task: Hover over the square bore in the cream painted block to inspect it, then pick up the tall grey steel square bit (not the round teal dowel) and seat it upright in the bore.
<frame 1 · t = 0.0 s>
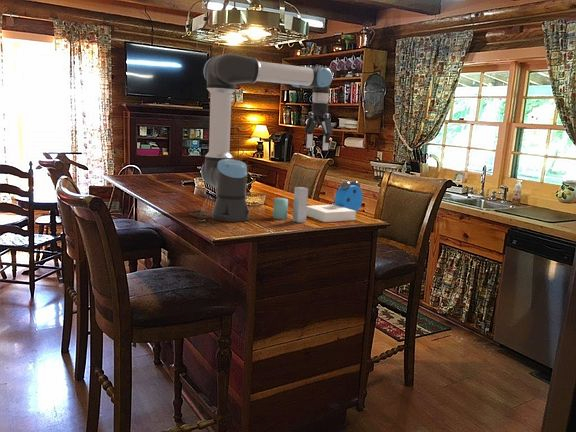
hand: (317, 149, 233), 28 cm above the countertop, fingers open, 13 cm apart
bore block: (329, 217, 216), on the countertop
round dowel: (280, 217, 209), on the countertop
square bit: (299, 221, 204), on the countertop
alarm clock: (347, 213, 228), on the countertop
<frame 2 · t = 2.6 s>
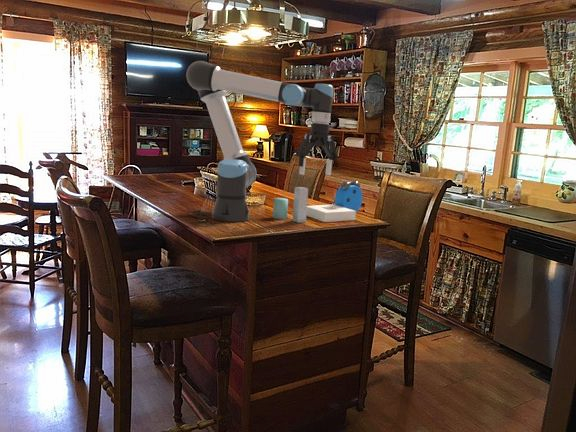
hand: (315, 174, 206), 19 cm above the countertop, fingers open, 13 cm apart
nothing on the countertop moved.
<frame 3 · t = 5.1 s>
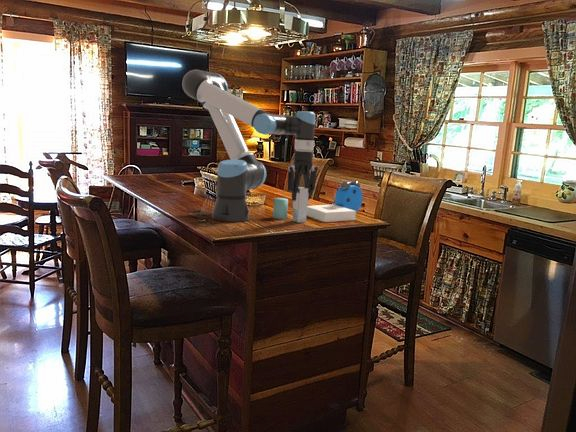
hand: (300, 208, 202), 6 cm above the countertop, fingers closed on square bit, 4 cm apart
square bit: (299, 221, 204), on the countertop, touching gripper
everything else where it was.
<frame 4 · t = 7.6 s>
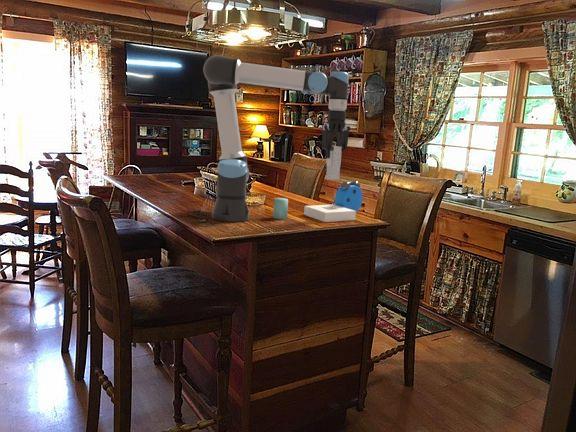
hand: (333, 165, 212), 23 cm above the countertop, fingers closed on square bit, 4 cm apart
square bit: (332, 178, 213), point 17 cm above the countertop, touching gripper
everything else where it was.
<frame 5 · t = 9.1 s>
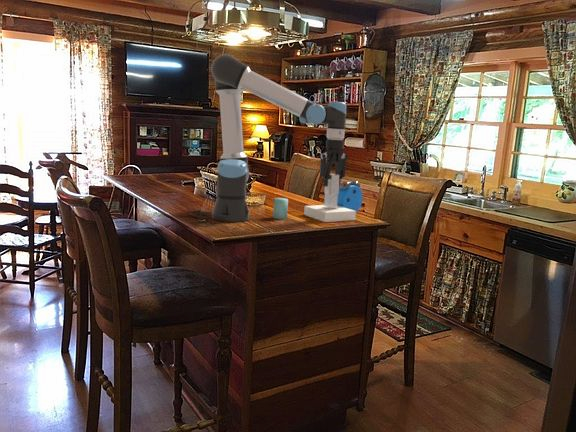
hand: (331, 193, 214), 10 cm above the countertop, fingers closed on square bit, 4 cm apart
square bit: (330, 206, 215), point 5 cm above the countertop, touching gripper
everything else where it was.
when the fingers open (7 cm above the countertop, at t = 10.1 s): square bit stays where it is, resting in bore block.
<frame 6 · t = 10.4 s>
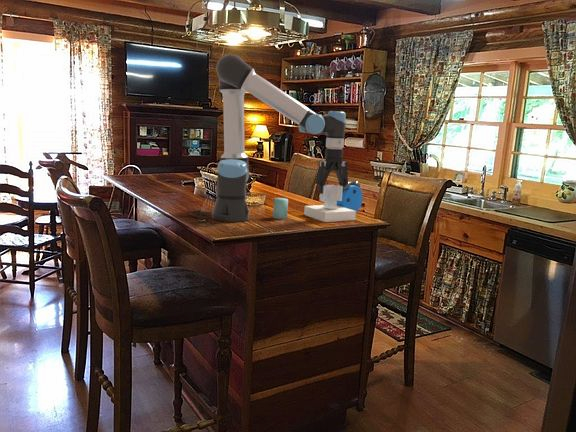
hand: (330, 200, 215), 7 cm above the countertop, fingers open, 8 cm apart
square bit: (329, 217, 216), resting in bore block
everything else where it was.
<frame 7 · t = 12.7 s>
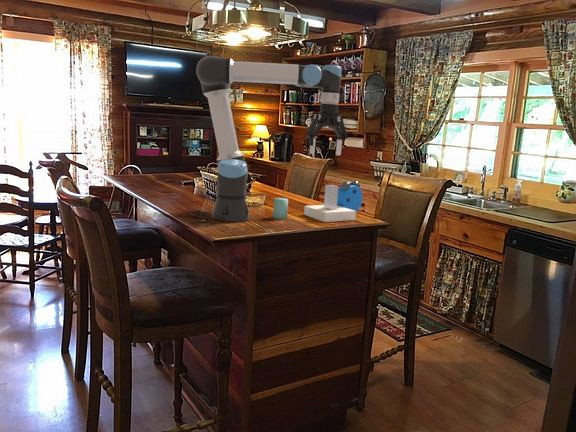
hand: (325, 154, 212), 27 cm above the countertop, fingers open, 13 cm apart
nothing on the countertop moved.
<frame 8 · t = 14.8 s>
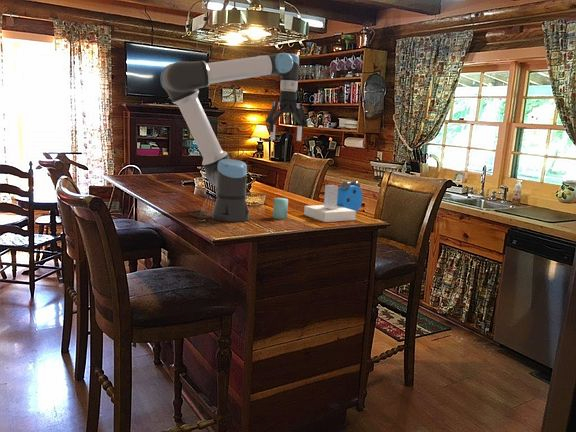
hand: (285, 140, 219), 32 cm above the countertop, fingers open, 13 cm apart
nothing on the countertop moved.
at the end: square bit 0.1 cm off-centre on the bore block, point 0.0 cm above the bore block's base; square bit tilted 0°; the gripper is holding nothing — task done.
